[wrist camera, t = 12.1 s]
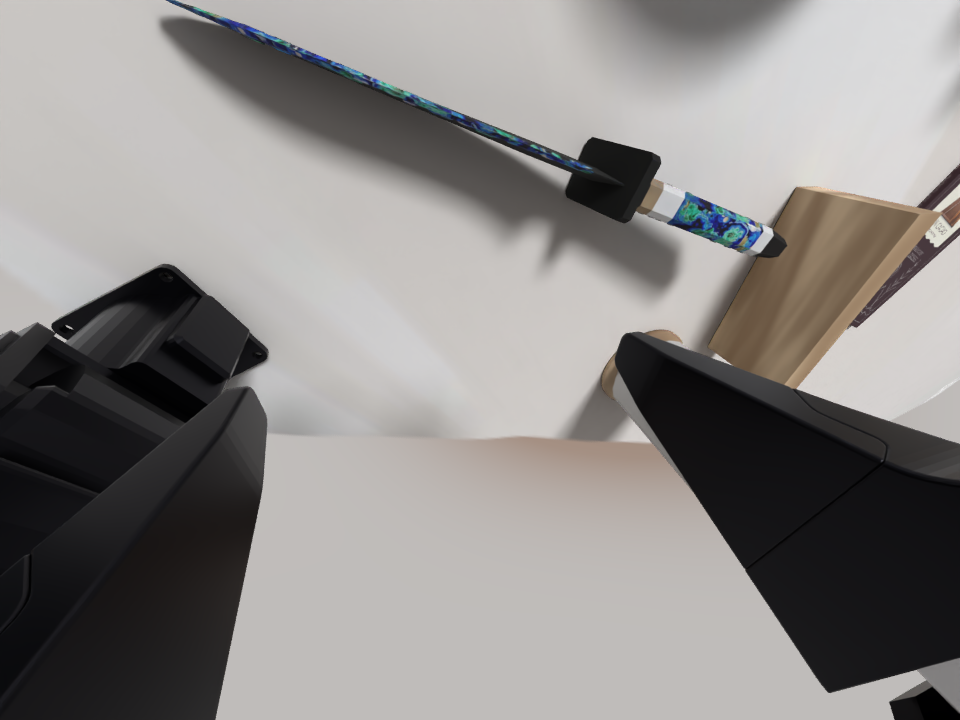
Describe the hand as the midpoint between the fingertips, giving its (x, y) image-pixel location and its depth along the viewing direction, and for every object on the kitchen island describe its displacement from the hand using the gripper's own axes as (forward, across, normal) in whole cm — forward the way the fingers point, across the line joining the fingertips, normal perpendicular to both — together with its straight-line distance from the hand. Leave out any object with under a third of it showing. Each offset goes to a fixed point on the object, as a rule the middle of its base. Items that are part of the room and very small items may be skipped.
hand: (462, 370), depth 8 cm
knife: (+13, -7, -3) cm, 15 cm away
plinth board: (+13, -29, +6) cm, 32 cm away
